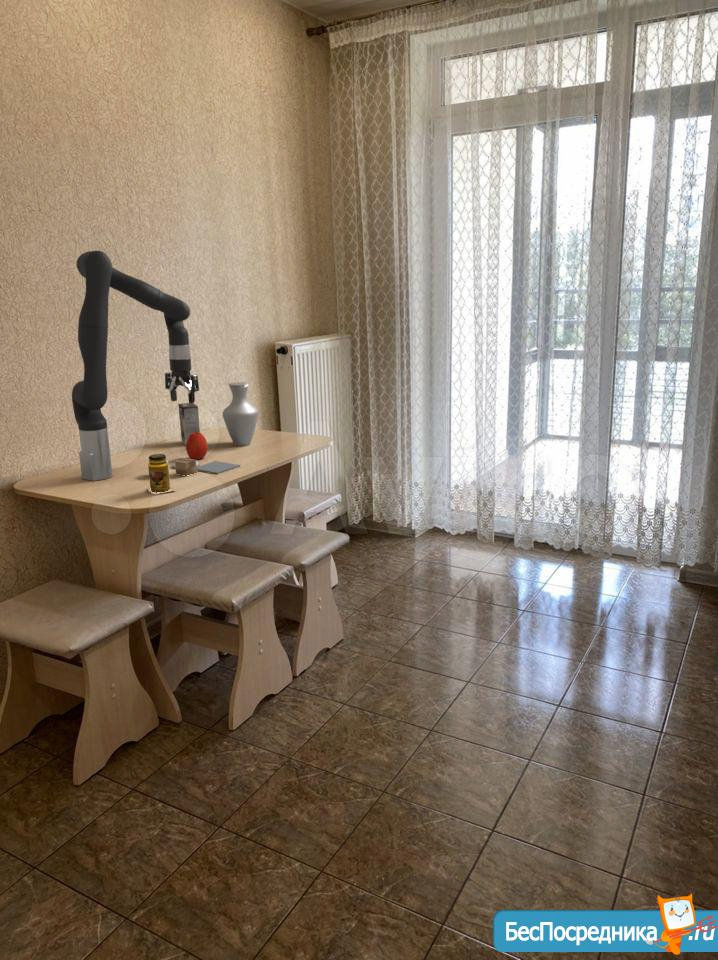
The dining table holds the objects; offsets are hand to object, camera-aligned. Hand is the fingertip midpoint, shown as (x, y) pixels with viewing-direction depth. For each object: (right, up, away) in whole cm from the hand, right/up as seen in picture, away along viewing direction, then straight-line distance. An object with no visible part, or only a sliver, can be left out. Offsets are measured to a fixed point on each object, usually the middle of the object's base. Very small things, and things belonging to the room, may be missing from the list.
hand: (182, 402), depth 262 cm
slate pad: (+13, -24, -5) cm, 28 cm away
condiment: (0, -32, -31) cm, 45 cm away
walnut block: (+4, -27, -12) cm, 29 cm away
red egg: (+3, -21, +9) cm, 23 cm away
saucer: (+1, -23, -1) cm, 24 cm away
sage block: (-5, -27, -13) cm, 30 cm away
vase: (+17, -14, +32) cm, 38 cm away
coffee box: (-5, -14, +34) cm, 37 cm away
